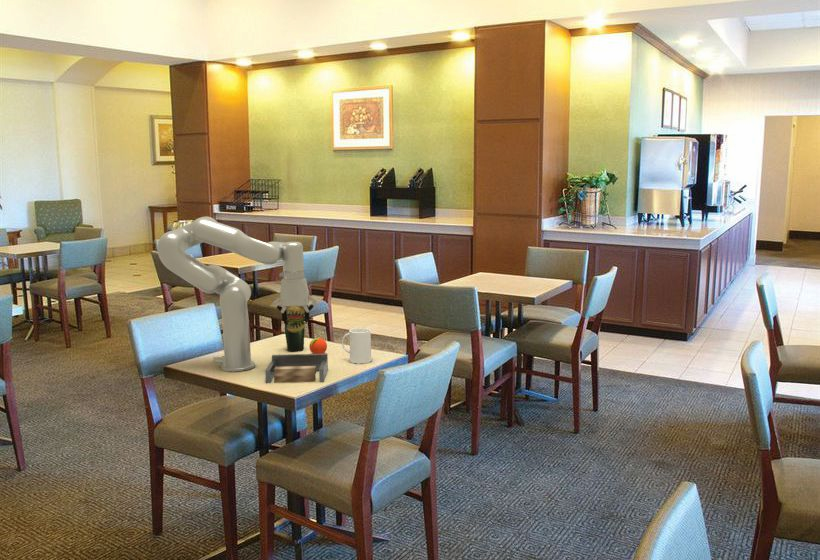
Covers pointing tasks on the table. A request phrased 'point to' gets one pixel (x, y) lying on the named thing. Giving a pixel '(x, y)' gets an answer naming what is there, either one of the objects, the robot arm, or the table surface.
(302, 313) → the burger with flag pick
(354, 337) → the mug
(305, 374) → the light brown long block
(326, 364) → the frame
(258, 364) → the table surface
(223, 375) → the table surface
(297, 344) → the potion bottle
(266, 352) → the table surface
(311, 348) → the clementine
